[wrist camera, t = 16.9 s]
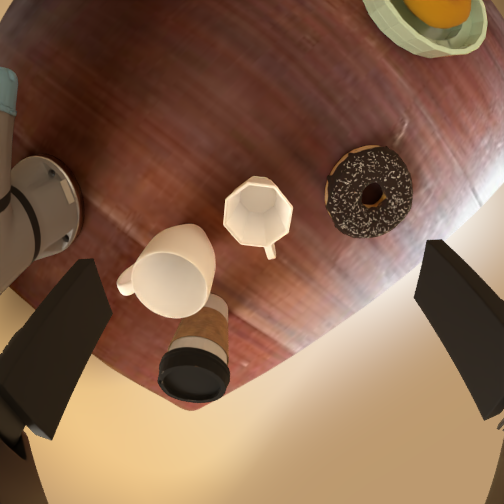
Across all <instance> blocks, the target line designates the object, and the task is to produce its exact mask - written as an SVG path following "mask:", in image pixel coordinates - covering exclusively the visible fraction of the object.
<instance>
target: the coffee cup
mask: <svg viewBox="0 0 504 504" xmlns="http://www.w3.org/2000/svg"><path fill="white" fill-rule="evenodd" d="M228 363H229V355H228V307H227V304H226V303H225V301H224V300H223V299H222V298H221V297H219V296H217V295H215V294H211V293H210V294H209V297H208V300H207V302H206V303H205V305H204V306H203V307H202V309H201V310H199V311H198V312H197V313H195V314H193V315H191V316H188V317H184V318H182V320H181V322H180V324H179V326H178V328H177V330H176V332H175V334H174V337H173V339H172V341H171V343H170V345H169V347H168V352H167V353H165V355H164V356H163V357H162V359H161V362H160V365H159V376H158V384H159V386H160V387H161V389H162V390H163V391H164V392H165V393H166V394H167V395H169V396H170V397H173V398H175V399H178V400H181V401H186V402H193V403H206V402H212V401H215V400H218V399H219V398H221V397H222V396H223V395H224V394H225V391H226V388H227V386H228V384H229V382H230V371H229V368H228Z"/></svg>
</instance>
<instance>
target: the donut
mask: <svg viewBox="0 0 504 504" xmlns="http://www.w3.org/2000/svg"><path fill="white" fill-rule="evenodd" d="M371 183H378V184H379V185H380V186H381V189H382V191H383V194H382V197H381V198H380V200H379V201H378V202H376V203H375V204H373V205H365V204H362V192H363V190H364V189H365V188H366V187H367V186H368V185H369V184H371ZM412 196H413V189H412V180H411V176H410V173H409V171H408V169H407V167H406V165H405V163H404V162H403V160H402V159H401V158H400V157H399V155H398V154H397V153H396V152H394V151H393V150H391V149H389V148H388V147H387V146H386V147H382V146H378V145H372V146H363V147H360V148H357V149H354V150H352V151H351V152H349V153H347V154H346V155H344V156H343V157H342V158H341V159H340V161H339V162H338V163H337V164H336V165H335V166H334V168H333V169H332V171H331V173H330V175H328V176H327V183H326V188H325V203H326V208H327V211H328V213H329V215H330V217H331V218H332V220H333V222H334V224H335V227H336V228H337V229H338V230H339V231H341V232H342V233H343V234H346V235H348V236H350V237H353V238H372V237H377V236H380V235H383V234H385V233H387V232H389V231H391V230H392V229H394V228H395V227H396V226H397V225H398V224H399V223H400V222H401V221H403V220H404V218H405V217H406V215H407V214H408V212H409V211H410V209H411V205H412Z"/></svg>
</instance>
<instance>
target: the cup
mask: <svg viewBox="0 0 504 504" xmlns="http://www.w3.org/2000/svg"><path fill="white" fill-rule="evenodd" d="M292 211H293V206H292V205H291V204H290V203H289V201H288V200H287V199H286V197H285V196H284V195H283V194H282V192H281V191H280V190H279V188H278V187H277V186H276V185H275V184H274V183H273V182H272V180H270V179H268V178H267V177H259V176H252V177H251V178H249V179H248V180H247V181H245V182H244V183H243V184H241V185H240V186H239V187H238V188H236V189H235V190H234V191H233V192H232V193H231V194H230V195H229V196H228V197H227V198H226V199H225V209H224V220H223V226H224V227H225V228H226V229H227V230H228V231H229V232H230V233H231V235H232V236H233V237H234V238H235V239H236V240H237V241H238V242H239V243H240V245H249V246H258V247H264V249H265V252H266V255H267V258H268V259H269V260H270V259H274V258H276V251H275V245H274V242H276V241H277V240H279V239H280V238H282V237H283V236H285V235H286V234H287V233H289V228H290V222H291V216H292Z"/></svg>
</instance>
